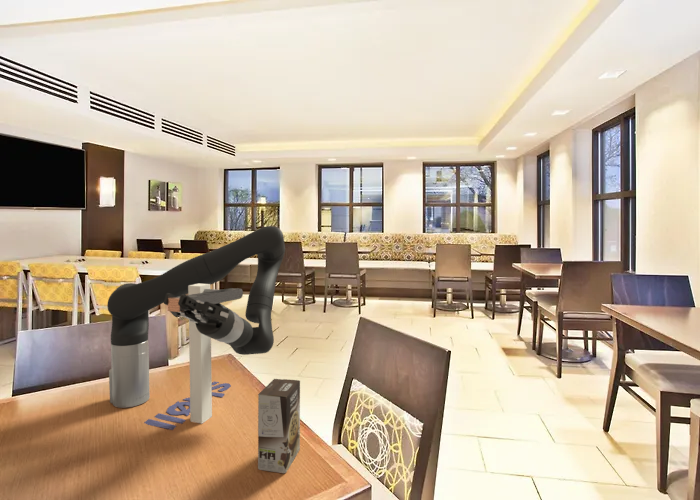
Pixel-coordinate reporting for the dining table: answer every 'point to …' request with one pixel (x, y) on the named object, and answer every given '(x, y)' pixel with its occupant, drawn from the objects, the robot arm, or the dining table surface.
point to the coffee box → (278, 425)
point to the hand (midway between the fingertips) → (173, 298)
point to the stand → (200, 367)
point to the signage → (182, 409)
